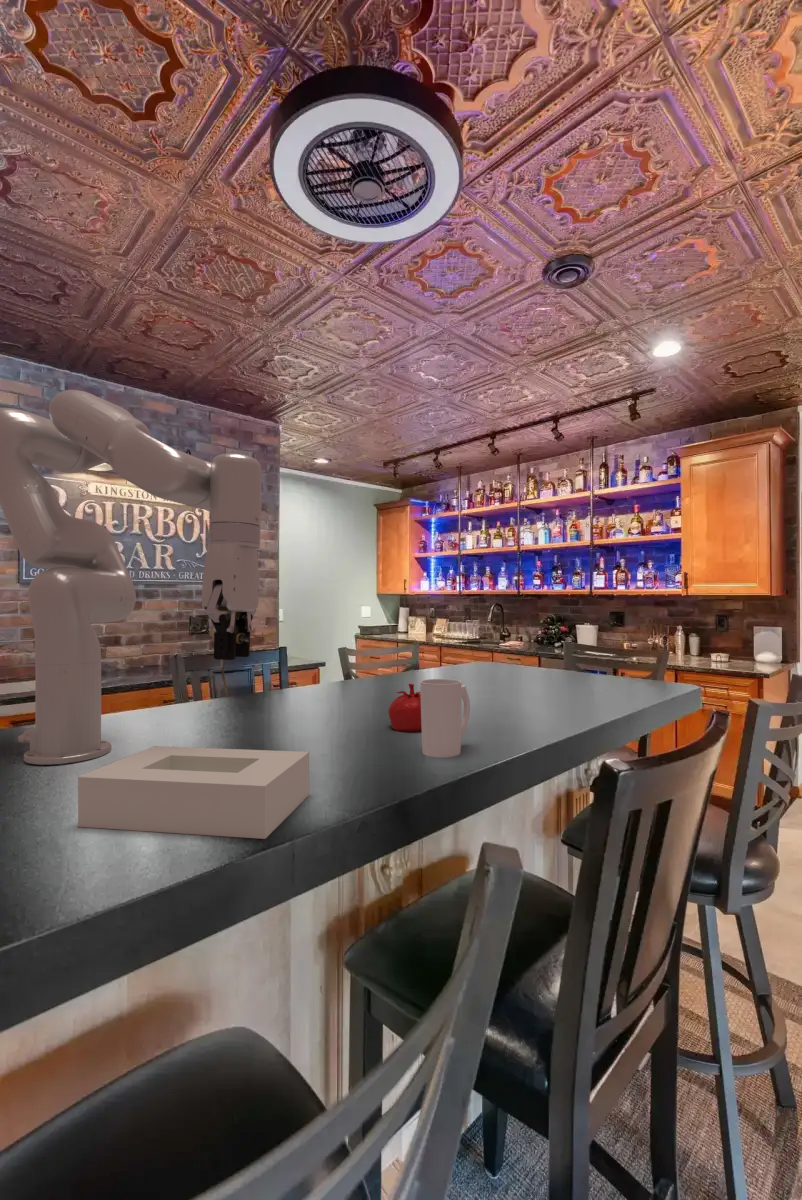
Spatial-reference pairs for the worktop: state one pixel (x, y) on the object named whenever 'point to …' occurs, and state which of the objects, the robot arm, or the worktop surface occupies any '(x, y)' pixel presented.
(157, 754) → the stand
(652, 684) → the worktop surface
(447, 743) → the mug
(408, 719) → the pomegranate
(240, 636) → the regulator
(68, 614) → the robot arm
